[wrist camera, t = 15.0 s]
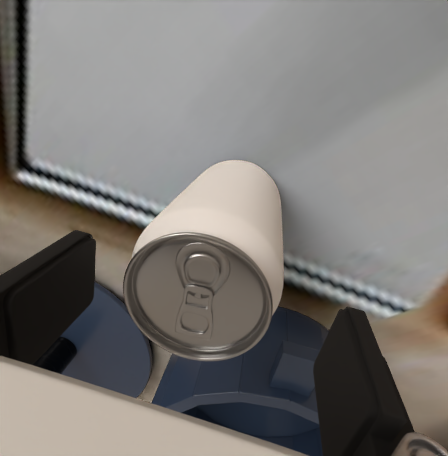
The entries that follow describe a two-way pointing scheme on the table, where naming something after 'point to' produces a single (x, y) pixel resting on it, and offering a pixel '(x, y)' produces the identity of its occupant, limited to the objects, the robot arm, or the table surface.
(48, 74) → the table surface
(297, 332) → the pot
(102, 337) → the lid
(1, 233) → the table surface
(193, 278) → the can
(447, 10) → the table surface
